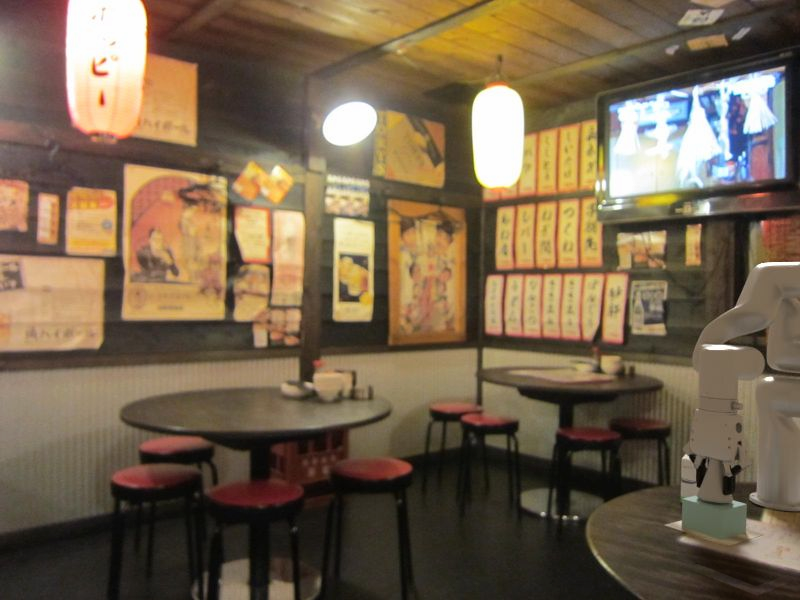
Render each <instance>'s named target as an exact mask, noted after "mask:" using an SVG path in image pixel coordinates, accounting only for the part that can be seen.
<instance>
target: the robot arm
mask: <svg viewBox="0 0 800 600" xmlns="http://www.w3.org/2000/svg"><path fill="white" fill-rule="evenodd" d="M743 285H744V286H743V288H742V291H741V293H740V295H739V297H738V299H737V302H736V304H735V306H734V307H733V308H731V309H729V310H727V311H726V312H723V313H722V314H721V315H719V316H717V317H716V318H715V319H713V320H712V321H711V322H709V323H708V324H707V325H705V327H704V329H703V330H702V331H701V333H700V335H699V337H698V339H697V342H696V344H695V347H694V350H693V352H692V358H691V364H692V367H693V369H694V371H696V373H697V374H698V398H697V399H698V401H697V408H695V411H694V413H693V417H692V423H691V431H690V438H689V439H690V440H688V442H686V444H685V445H684V446H683V447H682V451H683V452H684V453H685V455H686V454H687V455H688V456H689V458H690V460H691V461H692V463H693V464H694V468H696V482H697V487H698V488H700V487H701V484H702V482H703V479H704V477H705V474H706V472H707V469H708V467H707V468H706V464H707V465H708V463H707V461H708V462H709V458H710V459H715V460H719V461H722V463H723V469H724V473H725V476H723V494H724V495H730V494H732V495H734V494H735V491H736V484H737V479H736V478H737V477H736V476H738V475H739V474H740V473H741V472H742V471H744V470H745V469H746V468H749V467H751V466H752V465H753V461H752V460H751V459H750V456H749V455H748V454H747V452H746V436H745V427H744V422H743V421H744V420H743V418H742V417H743V416H742V414H741V413H738V412H739V410H741V411H742V410H743V409H744V405H743V403H741V402H739V398H738V397H739V396H738V393H739V392H738V387H739V381H744V382H745V381H747V382H749V381H753V380H754V381H755V380H756V379H758V378H760V376H761V375H762V374H763V372H764V370H765V366H766V362H767V365H768V366H769V368H771V369H772V370H776V371H780V372H784V373H785V372H786V373H794V374H800V300H798V299H800V261H794V262H793V261H792V262H791V261H789V262H788V261H787V262H786V261H782V262H779V261H778V262H764V263H760V264H757V265H755V267H753V268H752V269H751V271H750V272H749V273H748V276H747V278H746V281H745V284H743ZM767 328H768V338H767V345H766V346H767V347H766V361H765V357H764V355H763V354H762V352H761V351H760V350H759V349H757V348H755V347H752V346H747V345H736V344H734V345H733V344H725V343H726V342H728V341H730V340H733V339H734V338H738V337H741V336H746V335H749V334H753V333H755V332H759V331H762V330H765V329H767ZM754 394H755V401H756V403H755V404H756V409H757V419H758V434H757V436H758V437H757V440H758V441H757V463H756V464H757V465H756V467H757V468H756V473H757V475H756V491H755V492H752V493H749V497H748V498H749V500H750V502H751V503H753V504H755V505H758V506H760V507H764V508H768V509H770V510H771V509H772V510H777V511H783V512H785V511H786V512H800V427H799V425H798V424H797V422H796V421H795V420H794V419H793V418H796V419H800V378H798V377H791V376H790V377H788V376H775V375H774V376H766V377H763V378H762V379H760V380H759V381H758V382H757V384H756V387H755V393H754ZM737 461H740V462H739V463H738V464H737Z"/></svg>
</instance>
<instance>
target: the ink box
mask: <svg viewBox="0 0 800 600" xmlns="http://www.w3.org/2000/svg"><path fill="white" fill-rule="evenodd" d="M680 462H681V463H680V465H681V467H680V469H681V470H680V477H681V478H680V503H682V499H683V498H687V497H692V496H696V495H697V494H698V491H699V489H700V488H698V487H697V482H696V468H694V464H693V463H692V461H691V460H690V458H689V456H688V455H687V454H686V453H685V455H683V457H681V461H680ZM708 464H709V460H708V461H707V464H706V468H708Z"/></svg>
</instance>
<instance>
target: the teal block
mask: <svg viewBox="0 0 800 600" xmlns="http://www.w3.org/2000/svg"><path fill="white" fill-rule="evenodd" d="M747 507H748V504H747V503H744V502H740V501H737V500H734V499H733V502H732V503H717V502H710V501H704V500H702V499H701V498H699V497H697V495H696V496H692V497H687V498H683V499H682V505H681V520H682V527H684V528H687V529H690V530H693V531H696V532H699V533H702V534H705V535H708V536H711V537H714V538H717V539H720V540H724V539H727V538H730V537H733V536H737V535H740V534H743V533H746V529H747V516H748V515H747V512H748V511H747V510H748V508H747Z"/></svg>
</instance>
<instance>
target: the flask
mask: <svg viewBox="0 0 800 600" xmlns="http://www.w3.org/2000/svg"><path fill="white" fill-rule="evenodd" d="M707 468H708V469H707V472H706V474H705V477H704V479H703V482H702V484H701V487H700V489H699V491H698V494H697V497H699V498H701V499H702V500H704V501H710V502H717V503H732V502H733V500H734V497H733V494H730V495H724V494H723V476H726V472H725V469H724V465H723V461H719V460H715V459H710V458H708V463H707Z"/></svg>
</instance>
